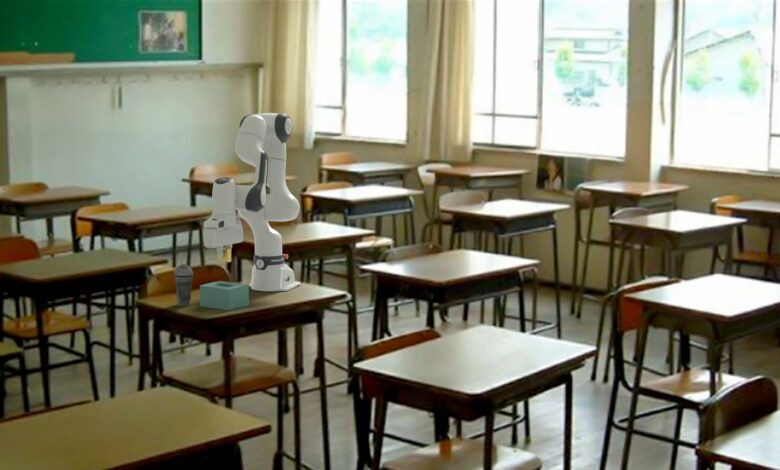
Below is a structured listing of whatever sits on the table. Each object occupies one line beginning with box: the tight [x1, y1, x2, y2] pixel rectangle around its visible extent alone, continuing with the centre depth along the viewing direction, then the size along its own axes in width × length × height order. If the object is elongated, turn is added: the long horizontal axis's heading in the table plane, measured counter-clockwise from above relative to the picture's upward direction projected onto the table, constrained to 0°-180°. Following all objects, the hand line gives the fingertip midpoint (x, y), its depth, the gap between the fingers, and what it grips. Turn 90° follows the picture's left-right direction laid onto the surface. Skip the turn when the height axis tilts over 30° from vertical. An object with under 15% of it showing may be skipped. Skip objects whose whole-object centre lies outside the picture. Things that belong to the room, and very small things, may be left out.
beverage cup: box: [173, 252, 194, 307], centre depth 460 cm, size 7×7×20 cm
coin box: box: [199, 280, 250, 311], centre depth 460 cm, size 12×14×8 cm
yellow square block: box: [216, 247, 232, 263], centre depth 458 cm, size 2×5×5 cm, turn 60°
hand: (224, 256), depth 458 cm, fingers closed on yellow square block, 2 cm apart
